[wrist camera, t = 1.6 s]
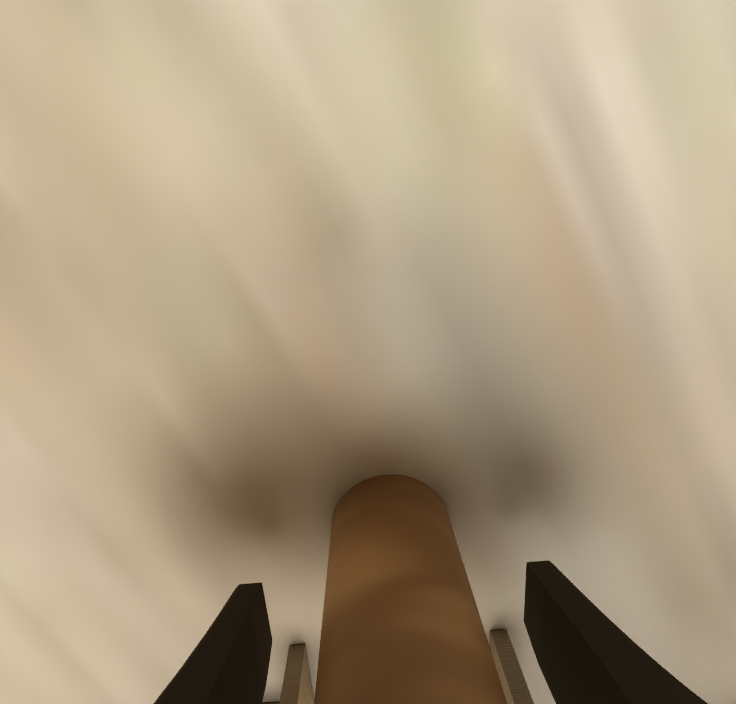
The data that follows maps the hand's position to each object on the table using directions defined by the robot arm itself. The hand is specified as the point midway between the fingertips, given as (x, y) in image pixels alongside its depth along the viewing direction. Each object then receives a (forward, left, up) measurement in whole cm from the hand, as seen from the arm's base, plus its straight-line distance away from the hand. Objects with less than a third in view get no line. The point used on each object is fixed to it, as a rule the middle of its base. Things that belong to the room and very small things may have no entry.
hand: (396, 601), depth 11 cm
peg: (0, 0, -3) cm, 3 cm away
